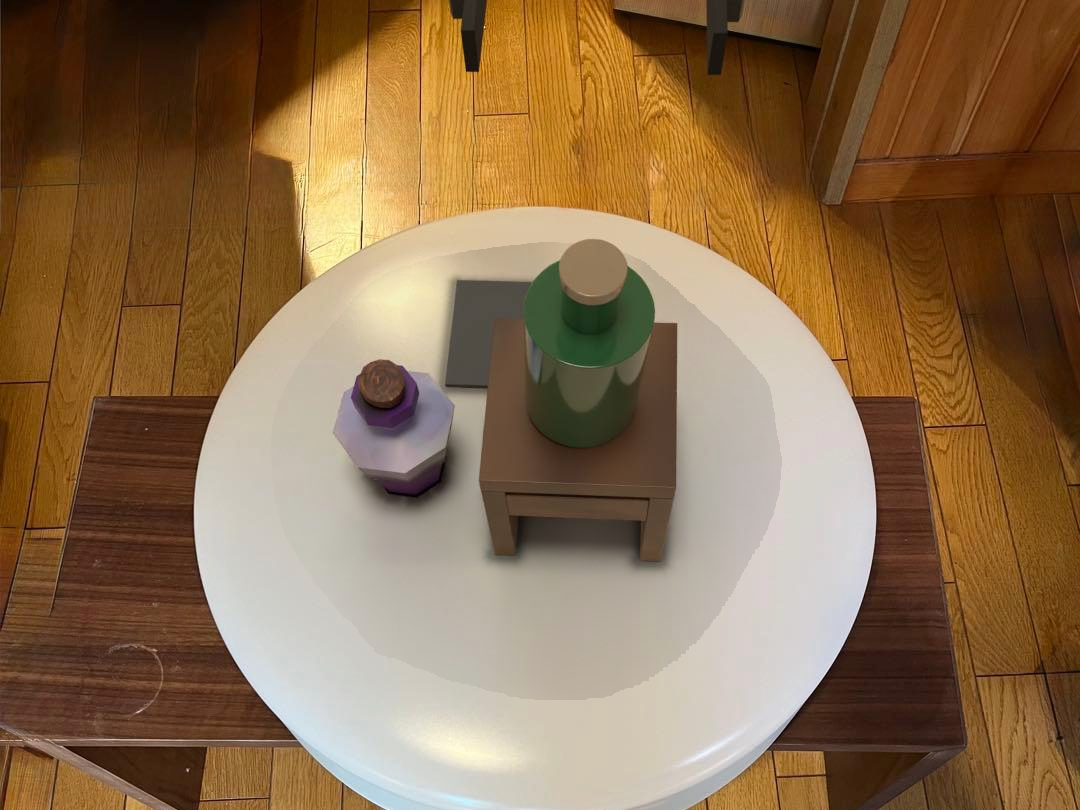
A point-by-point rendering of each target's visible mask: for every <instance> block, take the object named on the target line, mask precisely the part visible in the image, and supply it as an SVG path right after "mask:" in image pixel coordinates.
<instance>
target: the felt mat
mask: <svg viewBox="0 0 1080 810" xmlns="http://www.w3.org/2000/svg"><path fill="white" fill-rule="evenodd" d="M532 282H533V281H515V280H514V281H513V280H511V281H508V280H474V279H473V280H470V279H469V280H468V279H465V280H464V279H457V280H456V287H455V294H454V302H453V303H454V304H453V313H452V321H451V329H450V339H449V346H448V355H447V363H446V372H445V380H444V381H445V382H444V385H445V387H447V388H473V389H474V388H476V389H477V388H478V389H488V379H489V369H490V359H491V348H492V338H493V328H494V319H495V318H512V319H524V316H523V309H524V301H525V297H526V294H527V291H528V289H529V287H530V285H531V283H532Z"/></svg>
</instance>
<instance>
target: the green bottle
mask: <svg viewBox="0 0 1080 810" xmlns="http://www.w3.org/2000/svg"><path fill="white" fill-rule="evenodd" d="M531 282H532V283H531V285H530V287H529V289H528V291H527V294H526V297H525V301H524V309H523V316H524V364H525V401H526V407H527V411H528V414H529V416H530V418H531V420H532V422H533V423H534V425H535V426H536V427H537V428H538V429H539V430H540V432H541V433H543V434H544V435H545V436H546V437H548V438H550V439H551V440H553V441H555V442H557V443H559V444H562V445H565V446H570V447H576V448H588V447H594V446H598V445H601V444H604V443H606V442H609V441H611V440H612V439H614V438H616V437H617V436H618V435H619V434H621V433H622V432H623V431H624V430H625V428H626V427H627V426H628V424H629V423H630V421H631V419H632V418H633V415H634V412H635V409H636V404H637V400H638V395H639V390H640V386H641V381H642V377H643V372H644V367H645V363H646V358H647V353H648V349H649V344H650V339H651V335H652V330H653V325H654V322H655V320H656V307H655V306H656V305H655V301H654V297H653V294H652V292H651V290H650V288H649V286H648V285H647V283H646V281H645V280H644V279H643V278H642V276H641V275H639V274H638V272H637V271H635V270H634V269H633V268H632V267H630V266H629V265H628V261H627V259H626V257H625V255H624V253H623V252H622V251H621V250H620V249H619V248H618V247H617V246H616V245H614V244H613V243H611V242H610V241H607V240H604V239H600V238H587V239H581V240H579V241H576V242H574V243H573V244H571V245H569V246H568V248H567V249H565V251H564V252H563V253H562V254H561V256H560V259H559V260H557V261H555V262H552V263H551V264H549V265H548V266H547V267H545V268H544V269H543V270H542V271H540V272H539V274H537V276H535V278H534V279H533V280H532V281H531Z"/></svg>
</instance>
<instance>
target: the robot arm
mask: <svg viewBox="0 0 1080 810" xmlns="http://www.w3.org/2000/svg"><path fill="white" fill-rule="evenodd" d="M745 2H746V0H705V3H706V7H705V8H706V65H707V66H706V74H707V76H721V75H722V69H723V63H724V58H725V52H726V46H727V40H728V33H729V30H728V29H729V28H728V26H729V25H728V23H739V22H740V20H741V19H742V17H743V12H744V6H745ZM448 4H449V11H450V15H451V17H452V19H453V20H461V24H460V38H461V44H462V45H461V46H462V52H463V59H464V61H463V62H464V67H465V68H464V69H465V72H466V73H480V67H481V58H482V49H483V41H484V40H483V39H484V31H485V22H486V12H487V5H488V0H448Z"/></svg>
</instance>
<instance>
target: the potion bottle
mask: <svg viewBox="0 0 1080 810" xmlns="http://www.w3.org/2000/svg"><path fill="white" fill-rule="evenodd" d="M455 408H456V405H455V404H454V403H453V401H452V400H451V398H449V396H448V395H447V394H446V393H445V392H444V390H443V388H442V387H440V385H439V384H438V383H437V381H436V380H435V378H433V377H432V375H431V374H430V373H429V372H423V371H422V372H420V371H413V370H407V369H406V367H405V366H404V365H400V364H396V363H395V362H393V361H391V360H390V359H381V358H380V359H379V358H378V359H376V360H372V361H370V362H368V363H367V364H365V365H364V366H363V367H362V368H361V371H360V373H359V374H357V375H356V377H355V381H354V384H353V386H351V387H350V388H349V389H346V390H345V391H343V394H342V398H341V401H340V404H339V409H338V412H337V416H336V420H335V423H334V426H333V429H332V435H333V436H334V438H335V439H336V440H337V442H338V443H339V444H340V446H341V447H342V449H344V451H345V453H346V454H347V455H348V456H349V458H350V459H351V460H352V462H353V463H354V465H355V466H356V467H357V468H358V470H360V471H361V472H362V473H363V474H364V475H366V477H368V478H369V479H371V480H376V481H377V482H378V483H379V484H380V485H381V486H382V487H383V489H384V490H385V491H386V493H387V494H388V495H392V496H399V497H407V498H415V499H418V498H419V497H421V496H422V495H424V494H426V493H427V492H428V491H430V490H431V489H433V488H434V487H436V486H438V485H439V484H441V483H442V480H443V475H444V471H445V467H446V461H447V456H446V454H447V450H448V449H447V448H448V444H449V440H450V435H451V430H452V426H453V420H454V413H455Z"/></svg>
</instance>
